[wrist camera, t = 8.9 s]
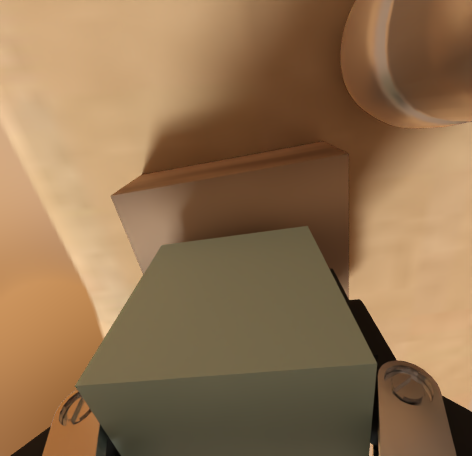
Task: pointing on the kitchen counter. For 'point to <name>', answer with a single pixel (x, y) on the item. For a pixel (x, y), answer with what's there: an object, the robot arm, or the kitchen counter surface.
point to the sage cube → (235, 355)
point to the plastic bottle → (410, 61)
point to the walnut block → (243, 202)
